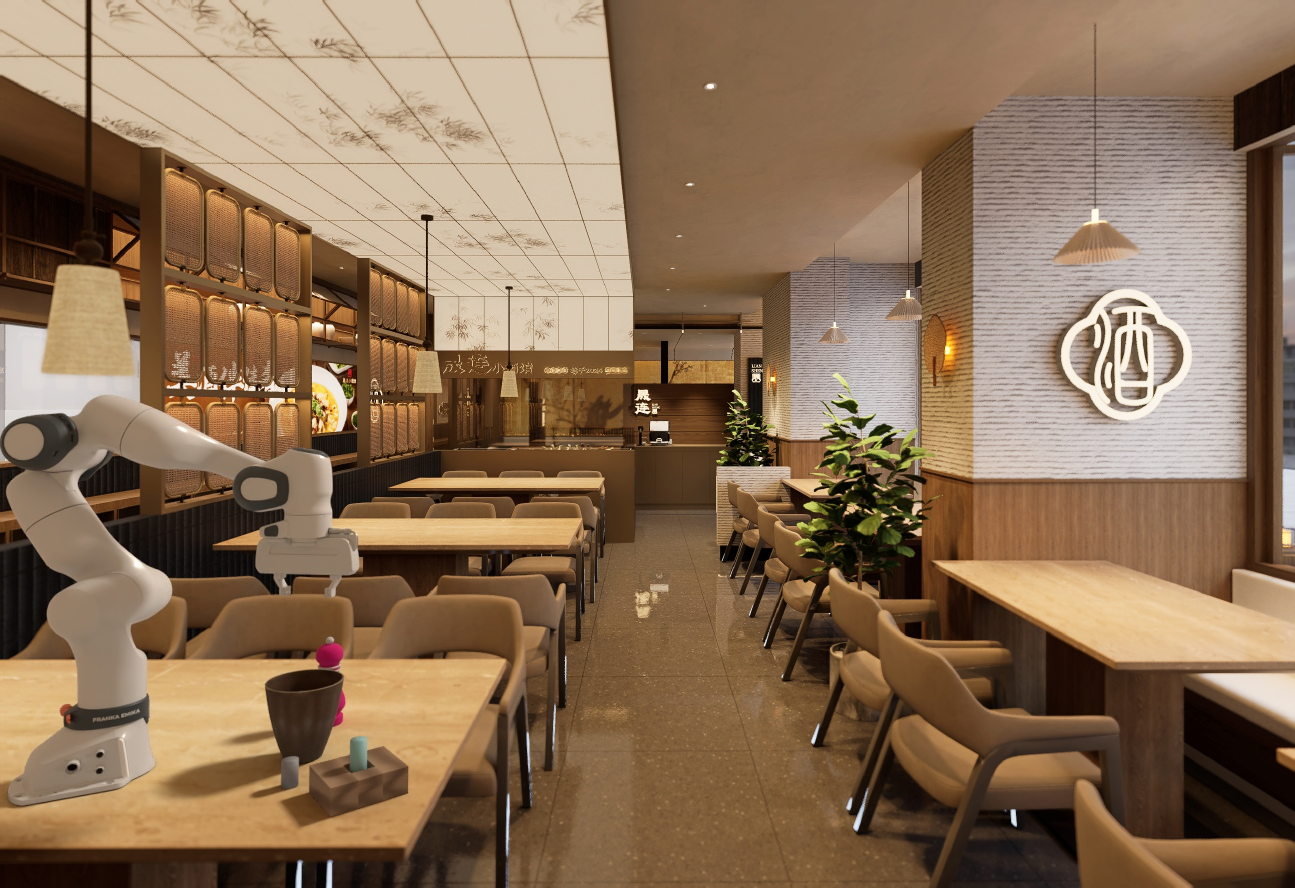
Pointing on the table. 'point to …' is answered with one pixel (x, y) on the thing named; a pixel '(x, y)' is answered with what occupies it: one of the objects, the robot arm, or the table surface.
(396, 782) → the walnut block
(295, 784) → the charcoal dowel
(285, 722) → the plant pot
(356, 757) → the teal dowel
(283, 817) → the table surface
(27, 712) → the table surface
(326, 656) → the pepper mill
